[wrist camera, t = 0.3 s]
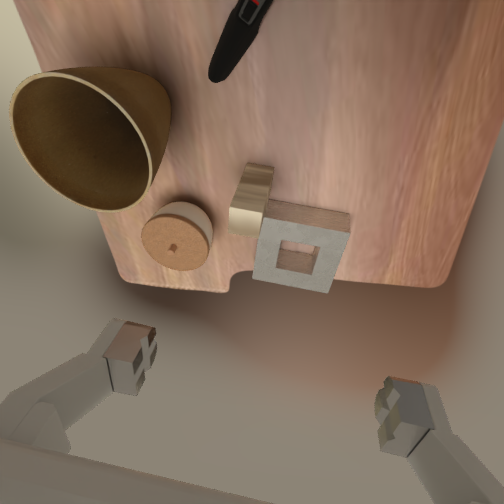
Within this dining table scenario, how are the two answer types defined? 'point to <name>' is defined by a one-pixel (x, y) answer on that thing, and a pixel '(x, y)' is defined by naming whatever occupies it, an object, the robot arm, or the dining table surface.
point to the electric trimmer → (237, 37)
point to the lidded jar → (178, 236)
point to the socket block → (305, 232)
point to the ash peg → (250, 201)
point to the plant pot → (93, 133)
